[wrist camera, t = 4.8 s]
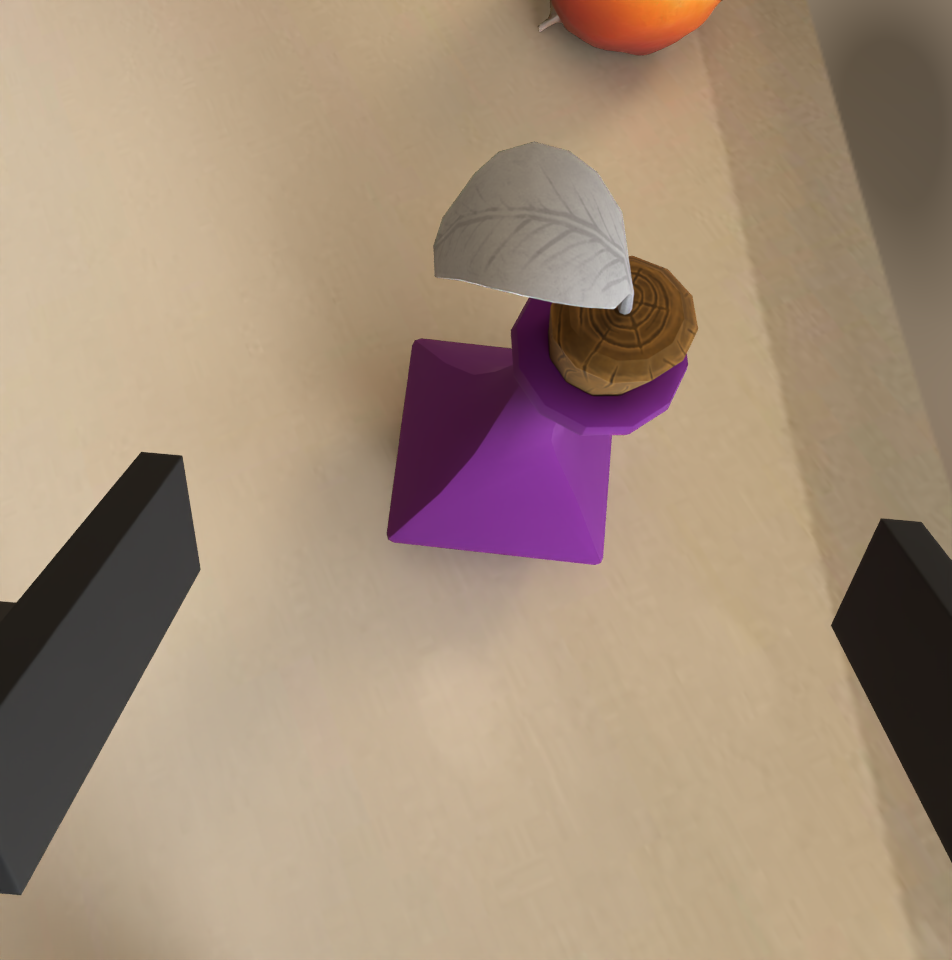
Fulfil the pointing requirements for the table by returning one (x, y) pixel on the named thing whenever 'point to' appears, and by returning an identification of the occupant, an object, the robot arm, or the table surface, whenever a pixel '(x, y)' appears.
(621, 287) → the perfume bottle
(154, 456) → the robot arm
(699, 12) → the fruit
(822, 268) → the table surface
